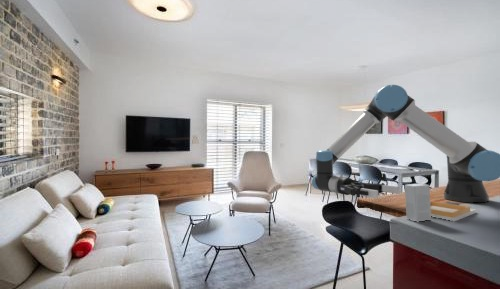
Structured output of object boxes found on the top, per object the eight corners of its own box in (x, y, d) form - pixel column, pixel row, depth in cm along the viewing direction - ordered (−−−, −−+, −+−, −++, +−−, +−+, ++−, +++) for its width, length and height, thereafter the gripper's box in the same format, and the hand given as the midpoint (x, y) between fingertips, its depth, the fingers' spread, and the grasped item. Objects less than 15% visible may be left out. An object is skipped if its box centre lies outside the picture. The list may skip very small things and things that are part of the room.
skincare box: (420, 217, 86) (418, 183, 86) (431, 221, 82) (430, 184, 82) (405, 219, 84) (404, 184, 85) (416, 222, 80) (414, 186, 80)
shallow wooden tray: (434, 206, 101) (434, 199, 101) (476, 212, 89) (475, 205, 89) (411, 213, 92) (411, 205, 92) (454, 221, 80) (453, 213, 80)
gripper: (359, 190, 116) (407, 198, 98) (321, 197, 104) (368, 207, 85) (359, 174, 116) (406, 179, 98) (321, 179, 104) (367, 185, 85)
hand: (388, 192), depth 92 cm, fingers open, 13 cm apart
